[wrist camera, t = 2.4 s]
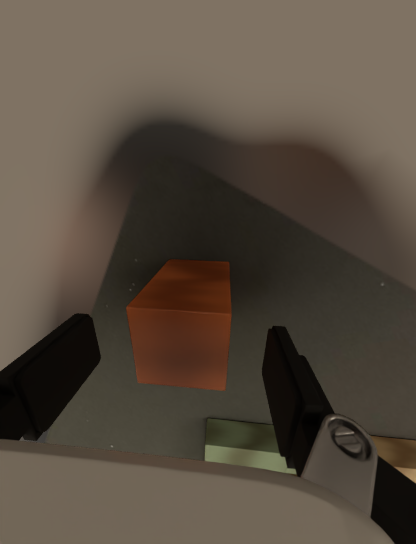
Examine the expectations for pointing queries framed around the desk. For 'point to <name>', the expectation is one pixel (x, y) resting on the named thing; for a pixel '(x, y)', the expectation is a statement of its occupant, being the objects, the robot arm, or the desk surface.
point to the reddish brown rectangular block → (183, 325)
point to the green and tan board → (265, 454)
